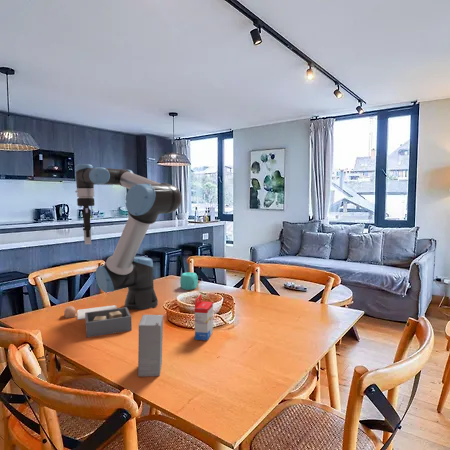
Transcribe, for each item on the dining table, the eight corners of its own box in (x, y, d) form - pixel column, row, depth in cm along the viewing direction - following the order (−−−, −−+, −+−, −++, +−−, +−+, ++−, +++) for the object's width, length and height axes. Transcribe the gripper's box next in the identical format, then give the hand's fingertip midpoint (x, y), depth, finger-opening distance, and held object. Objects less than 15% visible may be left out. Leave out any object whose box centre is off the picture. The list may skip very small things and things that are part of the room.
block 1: (106, 328, 134) (106, 315, 134) (104, 332, 130) (104, 319, 130) (96, 329, 134) (95, 316, 133) (93, 333, 130) (93, 320, 129)
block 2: (119, 322, 140) (119, 310, 139) (122, 325, 136) (122, 313, 136) (109, 325, 138) (108, 312, 137) (112, 328, 134) (111, 315, 134)
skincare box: (141, 363, 107) (140, 314, 106) (164, 362, 108) (163, 313, 106) (137, 378, 99) (135, 324, 97) (162, 376, 99) (161, 323, 98)
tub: (127, 321, 143) (126, 307, 143) (131, 331, 132) (131, 316, 132) (85, 327, 137) (85, 312, 136) (86, 339, 126) (86, 323, 125)
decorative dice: (180, 289, 190) (180, 275, 189) (184, 285, 198) (184, 272, 197) (194, 290, 189) (194, 275, 188) (198, 286, 197) (197, 272, 196)
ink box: (207, 341, 123) (207, 301, 122) (194, 340, 124) (193, 300, 123) (213, 331, 132) (213, 294, 130) (200, 330, 133) (200, 293, 131)
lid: (115, 307, 162) (115, 298, 161) (119, 315, 150) (118, 306, 150) (64, 313, 153) (64, 303, 153) (64, 323, 142) (63, 312, 141)
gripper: (76, 197, 172) (78, 239, 174) (77, 197, 150) (79, 246, 152) (92, 197, 175) (94, 238, 177) (95, 197, 153) (97, 245, 155)
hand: (87, 242), depth 164 cm, fingers open, 13 cm apart
